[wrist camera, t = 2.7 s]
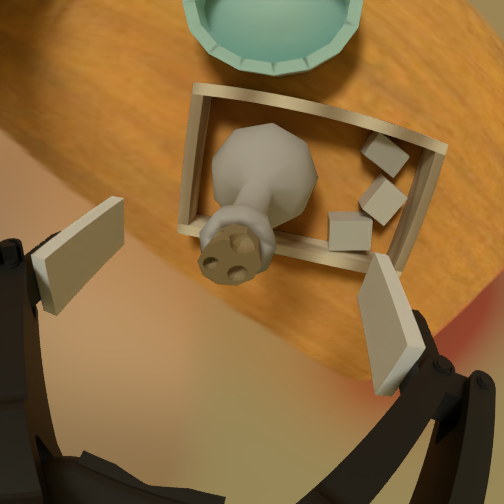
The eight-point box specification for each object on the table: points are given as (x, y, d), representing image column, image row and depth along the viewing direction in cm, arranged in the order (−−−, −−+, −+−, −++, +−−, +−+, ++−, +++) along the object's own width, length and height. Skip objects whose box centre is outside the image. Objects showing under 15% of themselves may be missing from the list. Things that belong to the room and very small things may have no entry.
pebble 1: (358, 149, 27) (363, 154, 25) (374, 128, 26) (380, 132, 24) (387, 171, 28) (393, 178, 26) (402, 151, 27) (409, 156, 25)
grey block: (327, 238, 32) (329, 250, 30) (327, 211, 31) (329, 221, 28) (365, 238, 31) (370, 250, 29) (367, 211, 30) (372, 220, 28)
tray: (186, 220, 33) (177, 232, 30) (203, 82, 26) (193, 82, 23) (391, 265, 32) (398, 280, 30) (435, 139, 25) (448, 144, 23)
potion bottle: (246, 103, 27) (174, 125, 11) (332, 153, 28) (377, 242, 12) (204, 183, 31) (112, 289, 15) (283, 227, 32) (266, 368, 16)
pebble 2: (378, 216, 30) (383, 226, 28) (357, 199, 30) (362, 208, 28) (400, 189, 28) (408, 198, 26) (380, 172, 28) (386, 179, 26)
